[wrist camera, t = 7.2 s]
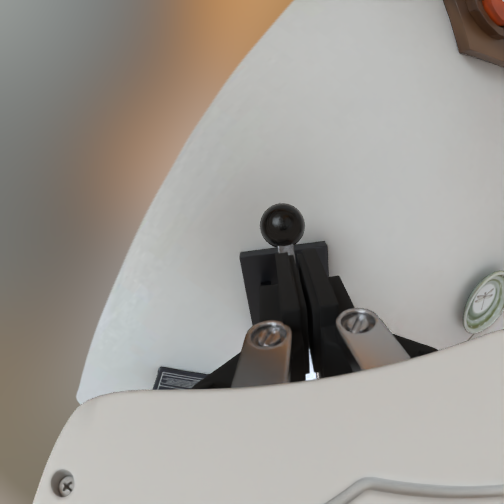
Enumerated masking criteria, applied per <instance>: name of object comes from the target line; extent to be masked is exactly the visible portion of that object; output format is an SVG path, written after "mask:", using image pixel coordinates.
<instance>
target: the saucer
mask: <svg viewBox="0 0 504 504" xmlns="http://www.w3.org/2000/svg"><path fill="white" fill-rule="evenodd" d="M503 310H504V271H496V272H494V273H492V274H490V275H489V276H487V277H485V278H484V279H483V280H482V281H481V282H480V283H479V284H478V285H477V286H476V287H475V289H474V290H473V292H472V293H471V295H470V297H469V299H468V301H467V304H466V307H465V311H464V316H463V325H464V328H465V330H466V331H467V332H469V333H472V334H476V333H479V332H482V331H484V330H485V329H487V328H488V327H490V326H491V325H492V324H493V323H494V322H495V321H496V320H497V319H498V318H499V316H500V315H501V314H502V312H503Z"/></svg>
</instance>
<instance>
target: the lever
mask: <svg viewBox="0 0 504 504" xmlns="http://www.w3.org/2000/svg"><path fill="white" fill-rule="evenodd" d="M304 229H305V222H304V218H303V216H302V214H301V213H300V211H299V210H298V209H297V208H295V207H294V206H292V205H289V204H285V203H279V204H275V205H273V206H271V207H269V208H268V209H267V210H266V211H265V212H264V214H263V215H262V218H261V221H260V230H261V234H262V236H263V238H264V239H265V240H266V241H267V242H268V243H269V244H270V245H272V246H274V247H277V248H278V253H284V252H288V255H294V259H295V253H294V246H293V245H295V244H296V243H297V242H298V241H299V240H300V239H301V238H302V236H303V233H304ZM295 263H296V261H295ZM309 362H310V373H309V374H306V380H313V379H317V372H316V373H314V370H313V365H312V359H311V354H310V349H309Z"/></svg>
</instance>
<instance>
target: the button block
mask: <svg viewBox="0 0 504 504" xmlns="http://www.w3.org/2000/svg"><path fill="white" fill-rule="evenodd" d="M443 1H444V4H445V7H446V9H447V12H448V15H449V18H450V21H451V25H452V28H453V31H454V35H455V38H456V42H457V46H458V50H459V53H462V54H466V55H469V56H472V57H476V58H479V59H482V60H485V61H488V62H490V63H493V64H496V65H499V66H501V67H504V25H503V26H498V25H496V24H495V23H494V22H493V21H492V20H491V19H490V17H489V16H488V14H487V12H486V11H485V9H484V7H483V4H482V0H443Z"/></svg>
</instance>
